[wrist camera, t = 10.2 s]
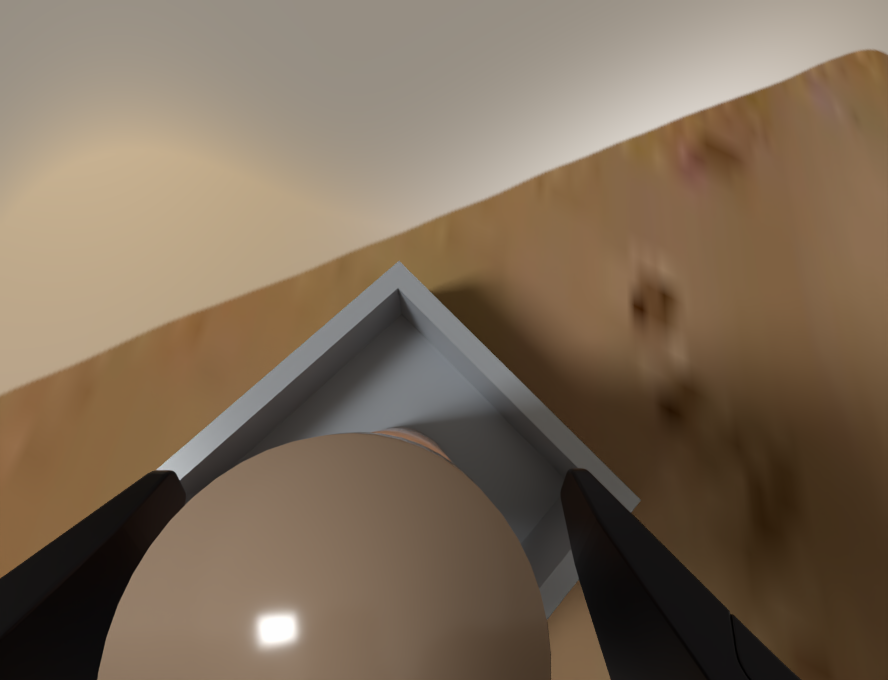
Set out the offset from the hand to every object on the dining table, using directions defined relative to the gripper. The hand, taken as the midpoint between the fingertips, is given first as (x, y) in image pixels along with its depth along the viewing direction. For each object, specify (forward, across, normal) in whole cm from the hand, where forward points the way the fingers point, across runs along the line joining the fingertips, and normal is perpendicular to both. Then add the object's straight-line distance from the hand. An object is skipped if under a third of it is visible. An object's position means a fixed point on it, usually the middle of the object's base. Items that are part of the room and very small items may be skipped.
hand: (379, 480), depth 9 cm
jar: (+5, 0, +7) cm, 8 cm away
